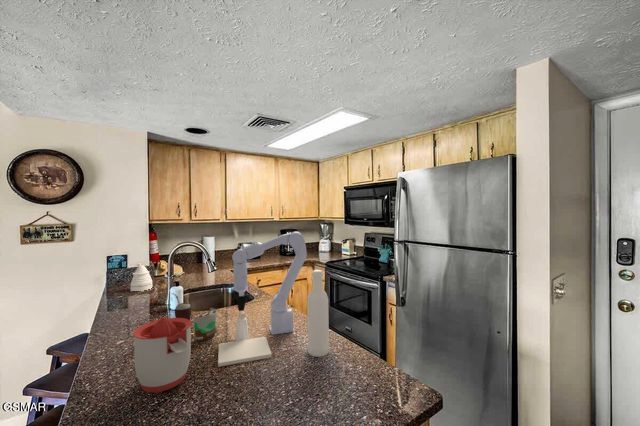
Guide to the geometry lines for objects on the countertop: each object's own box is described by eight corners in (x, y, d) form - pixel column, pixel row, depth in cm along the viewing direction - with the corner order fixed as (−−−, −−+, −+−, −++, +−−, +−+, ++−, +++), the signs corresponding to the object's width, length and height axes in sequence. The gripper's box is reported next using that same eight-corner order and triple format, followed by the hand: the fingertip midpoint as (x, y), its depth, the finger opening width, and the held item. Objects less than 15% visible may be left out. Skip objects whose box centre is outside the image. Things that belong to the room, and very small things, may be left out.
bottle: (304, 354, 102) (303, 272, 102) (312, 345, 109) (311, 268, 109) (324, 358, 99) (323, 273, 99) (332, 348, 106) (331, 269, 106)
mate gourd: (191, 317, 141) (191, 287, 141) (189, 323, 133) (189, 291, 133) (175, 319, 138) (174, 288, 138) (172, 325, 131) (172, 293, 131)
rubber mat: (265, 339, 115) (265, 336, 115) (271, 357, 101) (271, 353, 101) (218, 346, 109) (218, 343, 109) (218, 366, 95) (218, 363, 95)
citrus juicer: (154, 408, 75) (153, 333, 75) (123, 387, 84) (122, 320, 84) (206, 378, 88) (205, 314, 88) (174, 363, 97) (173, 305, 97)
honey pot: (125, 291, 190) (125, 264, 190) (140, 286, 203) (140, 261, 203) (142, 292, 188) (142, 265, 188) (156, 287, 201) (156, 261, 201)
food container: (207, 343, 112) (206, 318, 112) (193, 342, 113) (192, 317, 113) (223, 331, 124) (223, 308, 124) (210, 330, 125) (210, 307, 125)
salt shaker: (236, 343, 112) (236, 315, 112) (234, 338, 116) (233, 311, 116) (250, 340, 114) (250, 313, 114) (247, 335, 119) (247, 309, 119)
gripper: (230, 274, 128) (230, 304, 128) (231, 281, 114) (231, 315, 114) (246, 273, 130) (246, 302, 130) (249, 280, 116) (249, 312, 116)
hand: (240, 308), depth 122 cm, fingers open, 5 cm apart
